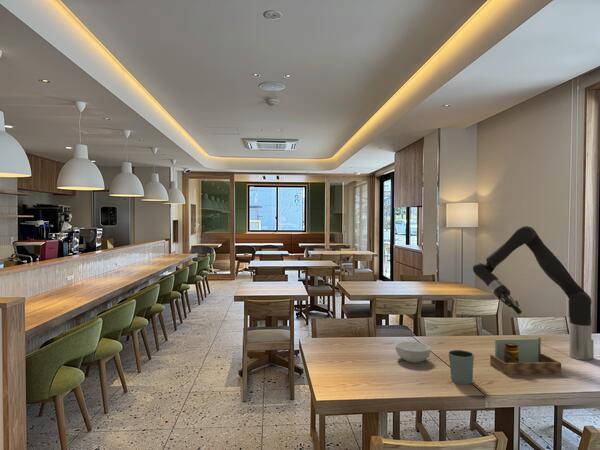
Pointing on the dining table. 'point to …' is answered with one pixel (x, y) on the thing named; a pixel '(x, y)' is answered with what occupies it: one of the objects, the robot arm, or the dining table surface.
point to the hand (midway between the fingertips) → (520, 313)
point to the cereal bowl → (413, 351)
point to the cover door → (521, 349)
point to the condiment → (511, 353)
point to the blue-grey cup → (461, 366)
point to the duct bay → (527, 366)
